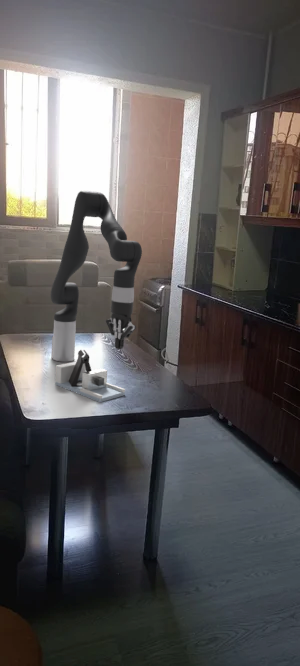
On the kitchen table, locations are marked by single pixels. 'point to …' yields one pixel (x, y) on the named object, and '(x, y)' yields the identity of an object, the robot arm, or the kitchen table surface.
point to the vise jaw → (94, 379)
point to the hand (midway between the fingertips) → (119, 348)
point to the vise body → (98, 394)
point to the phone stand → (79, 369)
